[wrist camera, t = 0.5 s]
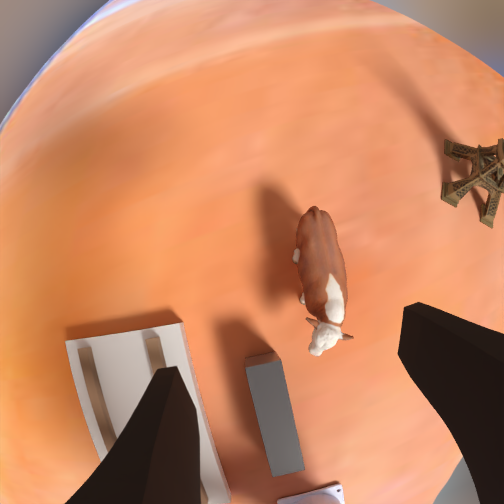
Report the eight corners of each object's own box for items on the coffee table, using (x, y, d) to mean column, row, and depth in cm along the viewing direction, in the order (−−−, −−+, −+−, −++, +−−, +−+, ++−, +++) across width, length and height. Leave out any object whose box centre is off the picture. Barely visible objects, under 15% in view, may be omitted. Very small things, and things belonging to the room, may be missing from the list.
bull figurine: (293, 349, 31) (308, 361, 23) (287, 223, 33) (300, 197, 25) (333, 345, 31) (360, 356, 23) (326, 223, 33) (349, 197, 25)
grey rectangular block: (296, 447, 29) (305, 469, 23) (268, 454, 29) (272, 477, 23) (275, 351, 31) (281, 359, 25) (244, 358, 31) (244, 368, 25)
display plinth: (231, 494, 27) (230, 508, 24) (126, 497, 26) (117, 509, 23) (183, 322, 31) (176, 323, 28) (73, 339, 30) (59, 341, 27)
